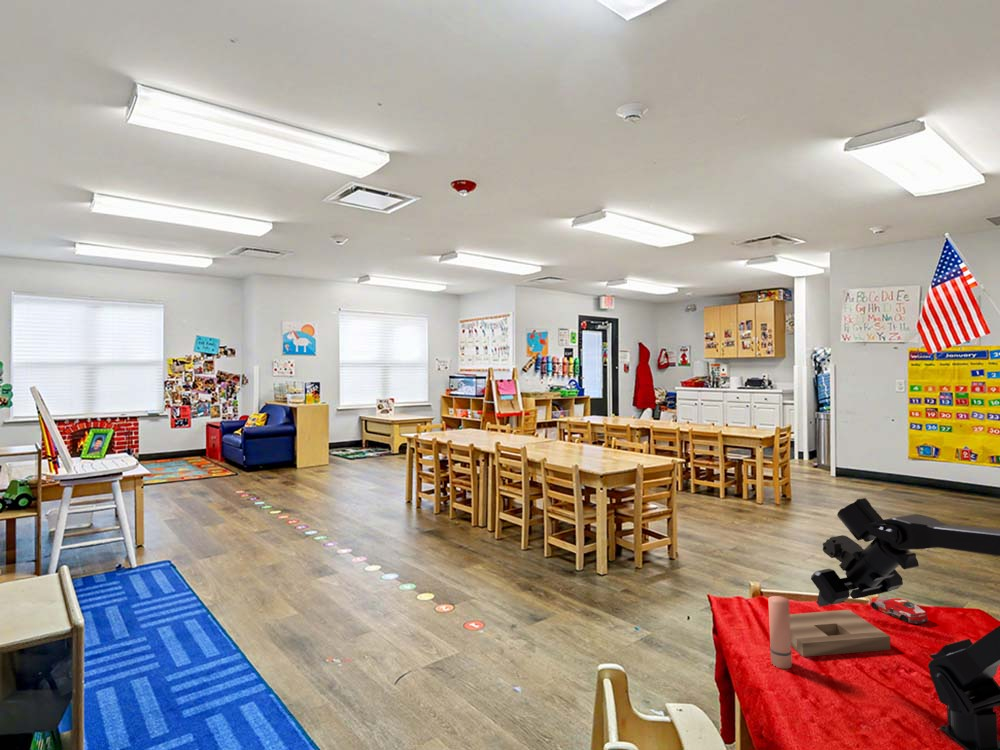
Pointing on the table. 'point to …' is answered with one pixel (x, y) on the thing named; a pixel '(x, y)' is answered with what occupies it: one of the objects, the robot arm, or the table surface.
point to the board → (834, 634)
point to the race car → (900, 609)
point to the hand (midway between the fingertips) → (835, 600)
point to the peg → (780, 632)
